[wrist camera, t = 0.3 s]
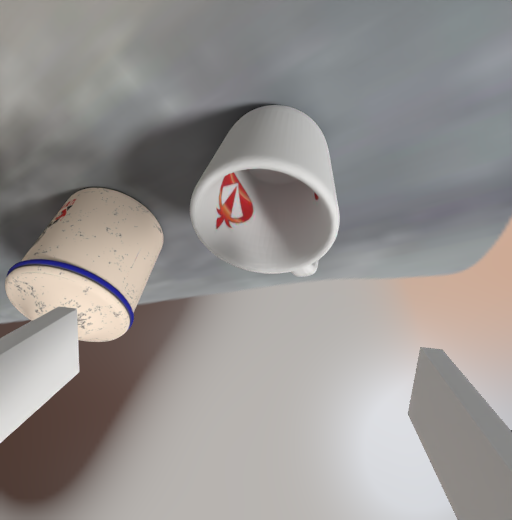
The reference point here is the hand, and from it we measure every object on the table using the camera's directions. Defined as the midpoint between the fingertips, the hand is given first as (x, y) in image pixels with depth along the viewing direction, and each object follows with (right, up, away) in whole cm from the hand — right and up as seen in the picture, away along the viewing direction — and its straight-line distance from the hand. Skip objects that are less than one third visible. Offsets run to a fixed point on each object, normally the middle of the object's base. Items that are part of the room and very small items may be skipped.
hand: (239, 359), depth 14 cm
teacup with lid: (-12, +6, +20) cm, 24 cm away
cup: (+3, +11, +12) cm, 16 cm away
